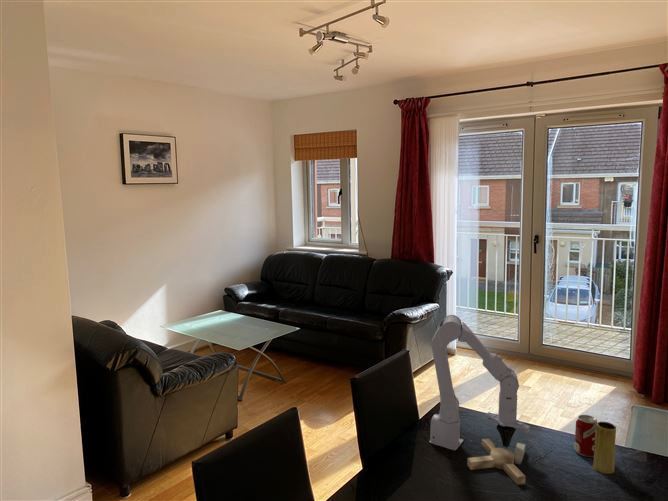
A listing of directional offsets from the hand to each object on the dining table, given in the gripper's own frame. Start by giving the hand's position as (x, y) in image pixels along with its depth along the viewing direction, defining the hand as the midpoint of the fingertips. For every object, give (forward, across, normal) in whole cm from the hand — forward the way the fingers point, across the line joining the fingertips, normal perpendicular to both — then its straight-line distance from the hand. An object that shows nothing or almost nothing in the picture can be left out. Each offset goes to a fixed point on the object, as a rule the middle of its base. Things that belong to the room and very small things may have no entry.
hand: (506, 445), depth 166 cm
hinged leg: (+1, +5, -1) cm, 5 cm away
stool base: (+1, +1, -12) cm, 12 cm away
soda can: (+2, +20, +16) cm, 26 cm away
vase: (+2, +27, +11) cm, 29 cm away
